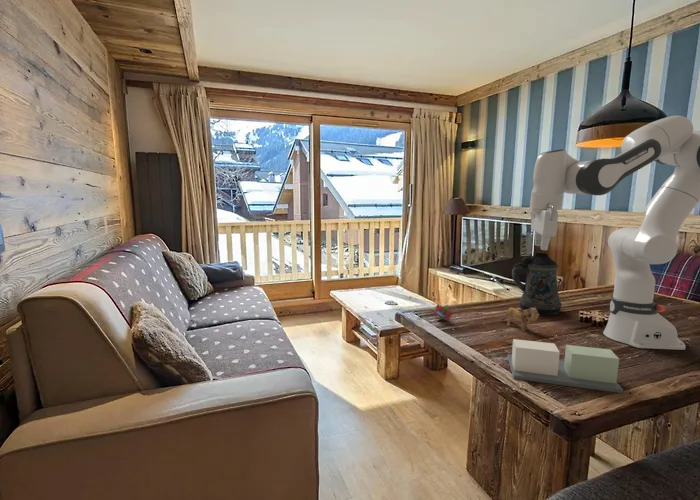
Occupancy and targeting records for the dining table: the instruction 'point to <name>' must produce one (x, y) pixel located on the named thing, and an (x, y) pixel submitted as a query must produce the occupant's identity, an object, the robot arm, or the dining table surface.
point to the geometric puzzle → (442, 312)
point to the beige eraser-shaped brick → (535, 357)
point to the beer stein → (538, 284)
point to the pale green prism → (591, 364)
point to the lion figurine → (522, 316)
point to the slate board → (564, 379)
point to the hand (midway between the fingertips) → (540, 247)
